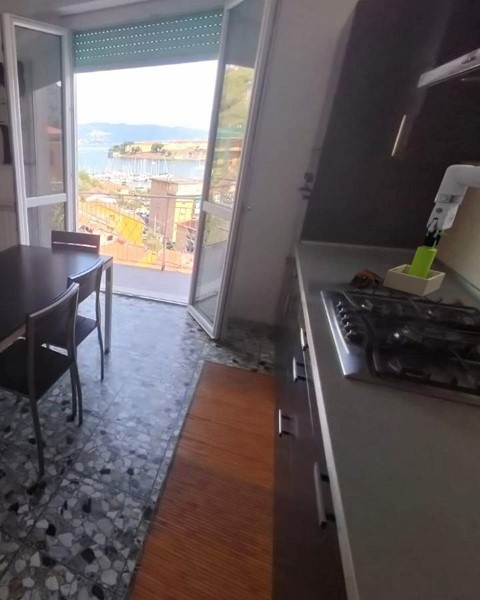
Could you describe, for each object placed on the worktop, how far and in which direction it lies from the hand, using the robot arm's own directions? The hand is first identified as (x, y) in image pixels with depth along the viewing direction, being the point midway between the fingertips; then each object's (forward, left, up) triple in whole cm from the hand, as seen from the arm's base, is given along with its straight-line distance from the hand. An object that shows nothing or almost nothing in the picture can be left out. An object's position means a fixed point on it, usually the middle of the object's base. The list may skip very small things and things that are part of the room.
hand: (430, 245), depth 144 cm
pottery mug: (+10, +19, -18) cm, 28 cm away
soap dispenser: (0, 0, -15) cm, 15 cm away
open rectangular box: (0, +3, -18) cm, 18 cm away
